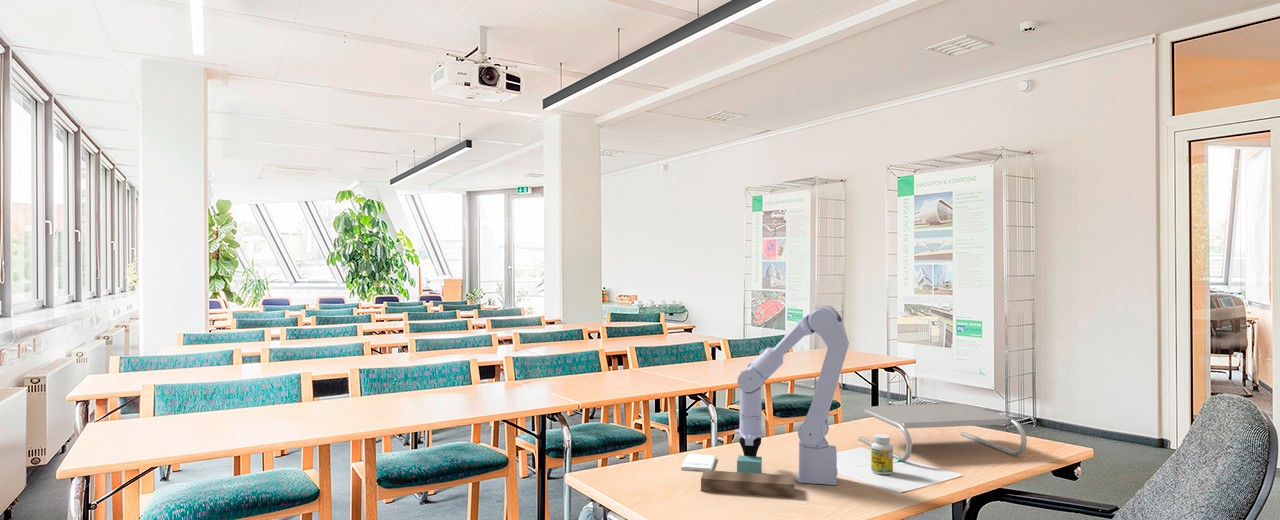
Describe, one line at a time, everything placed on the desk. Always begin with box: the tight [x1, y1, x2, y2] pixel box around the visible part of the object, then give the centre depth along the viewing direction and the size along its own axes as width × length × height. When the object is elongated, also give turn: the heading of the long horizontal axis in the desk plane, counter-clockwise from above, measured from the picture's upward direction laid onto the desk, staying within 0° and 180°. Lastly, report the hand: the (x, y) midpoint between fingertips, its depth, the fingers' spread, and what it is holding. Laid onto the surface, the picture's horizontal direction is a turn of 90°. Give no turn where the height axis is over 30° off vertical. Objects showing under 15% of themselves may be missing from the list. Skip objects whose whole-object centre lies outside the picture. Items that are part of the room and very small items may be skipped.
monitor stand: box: [858, 403, 1028, 462], centre depth 209 cm, size 37×28×11 cm
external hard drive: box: [680, 453, 717, 473], centre depth 192 cm, size 2×8×12 cm
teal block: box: [736, 454, 763, 474], centre depth 182 cm, size 6×5×4 cm
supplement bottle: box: [870, 433, 894, 475], centre depth 186 cm, size 5×5×10 cm
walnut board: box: [700, 470, 795, 498], centre depth 171 cm, size 22×7×3 cm, turn 79°
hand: (750, 466), depth 186 cm, fingers closed
